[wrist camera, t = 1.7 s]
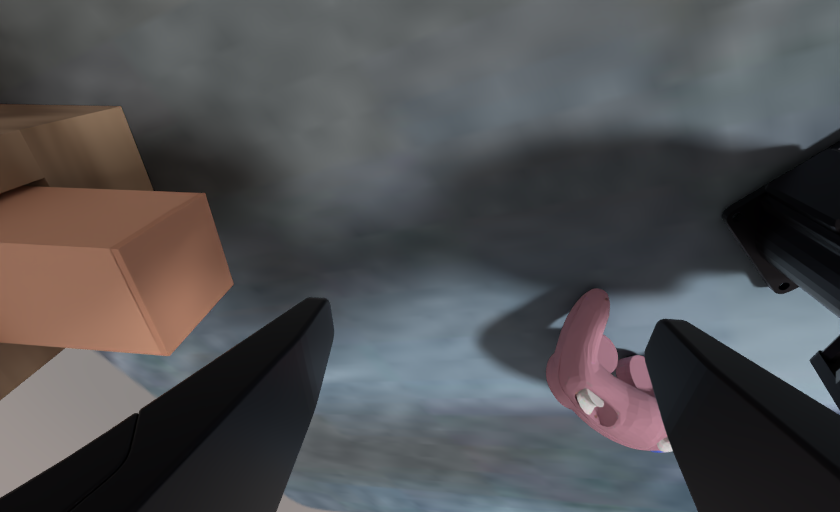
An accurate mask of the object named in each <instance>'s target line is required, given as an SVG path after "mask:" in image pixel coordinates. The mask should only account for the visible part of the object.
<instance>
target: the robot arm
mask: <svg viewBox="0 0 840 512" xmlns="http://www.w3.org/2000/svg"><path fill="white" fill-rule="evenodd" d="M736 213H739V214H738V216H737V217H735V218H733V216H734V215H735V214H736ZM722 219H723V221H724V222H725V224H726V225H727V227H728V228H729V230H730V231H731V232H732V234H733V235H734V237H735V238H736V240H737V241H738V243H739V244H740V246H741V247H742V249H743V250H744V252H745V253H746V254H747V256H748V257H749V259H750V260H751V262H752V263H753V265H754V266H755V268H756V269H757V271H758V272H759V273H760V275H761V276H762V278H763V279H764V281H765V282H766V284H767V285H768V287H769V288H771V289H772V290H773V291H774V292H775V293H778V294H784V293H787V292H789V291H791V290H794V289H796V288H798V287H800V288H802V289H803V290H804V291H805V292H807V293H808V294H809V295H811V296H812V297H813V298H814V299H816V300H817V301H818V302H820V303H821V304H822V305H823V306H825V307H826V308H827V309H829V310H830V311H831V312H832V313H834V314H835V315H836V316H838V317H839V318H840V141H839V142H838V143H836V144H834V145H833V146H831V147H829V148H828V149H826V150H824V151H822V152H821V153H819V154H817V155H816V156H814V157H812V158H811V159H809V160H807V161H806V162H804V163H802V164H801V165H799V166H797V167H795V168H794V169H792V170H790V171H789V172H787V173H785V174H784V175H782V176H780V177H779V178H777V179H775V180H773V181H772V182H770V183H768V184H767V185H765V186H763V187H762V188H760V189H758V190H757V191H755V192H753V193H752V194H750V195H748V196H746V197H745V198H743V199H741V200H740V201H738V202H736V203H735V204H733V205H731V206H730V207H728V208H727V209H726V210H725V211H724V212H723V214H722ZM782 283H783V284H782ZM781 284H782V285H781ZM333 338H334V326H333V319H332V313H331V306H330V303H329V300H327V299H326V298H316V297H309V298H306V299H305V300H303V301H302V302H300V303H299V304H297V305H296V306H294V307H293V308H291V309H290V310H288V311H287V312H285V313H284V314H282V315H281V316H279V317H278V318H276V319H275V320H273V321H272V322H270V323H269V324H267V325H266V326H264V327H263V328H261V329H260V330H258V331H257V332H255V333H254V334H252V335H251V336H249V337H248V338H246V339H245V340H243V341H242V342H240V343H239V344H237V345H236V346H234V347H233V348H231V349H230V350H228V351H227V352H225V353H224V354H222V355H221V356H219V357H218V358H216V359H215V360H213V361H212V362H211V363H209V364H208V365H206V366H205V367H203V368H202V369H200V370H199V371H197V372H196V373H194V374H193V375H191V376H190V377H188V378H187V379H185V380H184V381H182V382H181V383H179V384H178V385H176V386H175V387H173V388H172V389H170V390H169V391H167V392H166V393H164V394H163V395H161V396H160V397H158V398H157V399H155V400H154V401H152V402H151V403H149V404H148V405H146V406H145V407H143V408H142V409H141V410H140V411H139V414H138V413H134V414H133V415H131V416H130V417H128V418H127V419H125V420H124V421H122V422H121V423H119V424H118V425H116V426H115V427H113V428H112V429H110V430H109V431H107V432H106V433H104V434H102V435H101V436H99V437H98V438H96V439H95V440H93V441H92V442H90V443H89V444H87V445H85V446H84V447H82V448H81V449H79V450H78V451H76V452H75V453H73V454H72V455H70V456H68V457H67V458H65V459H64V460H62V461H60V462H59V463H57V464H56V465H54V466H52V467H51V468H49V469H47V470H46V471H44V472H42V473H41V474H39V475H37V476H36V477H34V478H32V479H31V480H29V481H28V482H26V483H25V484H23V485H21V486H19V487H18V488H16V489H14V490H13V491H11V492H9V493H8V494H6V495H4V496H3V497H1V498H0V512H276V511H277V508H278V506H279V503H280V501H281V498H282V495H283V493H284V490H285V488H286V485H287V482H288V480H289V477H290V474H291V472H292V469H293V467H294V464H295V461H296V459H297V456H298V453H299V451H300V448H301V446H302V443H303V440H304V438H305V435H306V432H307V430H308V427H309V425H310V422H311V419H312V416H313V414H314V411H315V408H316V404H317V401H318V397H319V393H320V390H321V386H322V382H323V378H324V374H325V370H326V366H327V362H328V358H329V354H330V351H331V347H332V343H333ZM810 362H811V364H812V365H813V367H814V369H815V370H816V372H817V374H818V375H819V377H820V379H821V380H822V382H823V384H824V385H825V387H826V388H827V390H828V392H829V393H830V395H831V397H832V398H833V400H834V402H835V403H836V405H837V407H838V408H839V410H840V335H839V336H838V337H837V338H836V339H835V340H834V341H833V342H832V343H831V344H830V345H829V346H828V347H826V348H825V349H824V350H823V351H818V352H817V353H816V354H815V355H814V356H813V357H812V358H811V359H810ZM645 363H646V367H647V370H648V374H649V377H650V380H651V384H652V387H653V391H654V394H655V397H656V401H657V404H658V408H659V411H660V415H661V418H662V421H663V425H664V428H665V431H666V434H667V437H668V440H669V442H670V445H671V447H672V450H673V452H674V455H675V457H676V460H677V462H678V465H679V467H680V469H681V472H682V474H683V477H684V479H685V481H686V484H687V486H688V489H689V491H690V494H691V496H692V498H693V501H694V503H695V506H696V508H697V510H698V512H840V415H839V414H837V413H835V412H834V411H832V410H830V409H829V408H827V407H825V406H824V405H822V404H821V403H819V402H817V401H816V400H814V399H812V398H811V397H809V396H808V395H806V394H804V393H803V392H801V391H799V390H798V389H796V388H795V387H793V386H791V385H790V384H788V383H786V382H785V381H783V380H781V379H780V378H778V377H777V376H775V375H773V374H772V373H770V372H768V371H767V370H765V369H764V368H762V367H760V366H759V365H757V364H755V363H754V362H752V361H750V360H749V359H747V358H746V357H744V356H742V355H741V354H739V353H737V352H736V351H734V350H733V349H731V348H729V347H728V346H726V345H724V344H723V343H721V342H720V341H718V340H716V339H715V338H713V337H711V336H710V335H708V334H706V333H705V332H703V331H702V330H700V329H698V328H697V327H695V326H693V325H692V324H690V323H689V322H687V321H684V320H675V319H662V320H660V321H658V322H657V324H656V326H655V328H654V330H653V333H652V335H651V337H650V340H649V342H648V344H647V347H646V349H645Z"/></svg>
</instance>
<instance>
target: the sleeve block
mask: <svg viewBox="0 0 840 512" xmlns="http://www.w3.org/2000/svg"><path fill="white" fill-rule="evenodd" d="M19 186H37V187H62V188H87V189H112V190H137V191H154V190H153V188H152V185H151V182H150V180H149V177H148V175H147V172H146V170H145V167H144V164H143V162H142V159H141V157H140V154H139V151H138V149H137V146H136V144H135V141H134V139H133V136H132V133H131V131H130V128H129V126H128V123H127V120H126V118H125V115H124V113H123V110H122V108H121V106H79V105H27V104H0V193H3V192H6V191H8V190H11V189H14V188H17V187H19ZM63 349H65V348H62V347H50V346H37V345H25V344H12V343H0V400H1V399H2V398H4V397H5V396H6V395H8V394H9V393H10V392H11V391H12V390H14V389H15V388H16V387H17V386H19V385H20V384H21V383H22V382H24V381H25V380H26V379H27V378H28V377H30V376H31V375H32V374H34V373H35V372H36V371H37V370H39V369H40V368H41V367H42V366H44V365H45V364H46V363H47V362H48V361H50V360H51V359H52V358H53V357H55V356H56V355H57V354H58V353H60V352H61V351H62V350H63Z"/></svg>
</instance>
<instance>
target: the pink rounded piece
mask: <svg viewBox="0 0 840 512" xmlns="http://www.w3.org/2000/svg"><path fill="white" fill-rule="evenodd" d="M609 310H610V302H609V297H608V294H607V293H606V292H605V291H604V290H602V289H598V288H595V289H591V290H590V291H588V292H587V293H585V294H584V295H583V296H582V297H581V298H580V299H579V300H578V301H577V302H576V304H575V305H574V306H573V307H572V309H571V311H570V313H569V314H568V316H567V318H566V320H565V322H564V325H563V327H562V330H561V332H560V336H559V339H558V343H557V346H556V349H555V353H554V354H552V356H551V357H550V358H549V360H548V363H547V368H546V378H547V382H548V385H549V388H550V390H551V392H552V393H553V395H554V396H555V398H556V399H557V400H558V401H559V402H560V403H561V404H562V405H563V406H565V407H567V408H569V409H572V410H573V411H574V412H575V413H576V414H577V415H578V416H579V417H580V418H581V419H582V420H583V421H584V422H585V423H587V424H588V425H589V426H590V427H591V428H593V429H594V430H596V431H597V432H599V433H600V434H602V435H603V436H605V437H607V438H609V439H611V440H613V441H614V442H617V443H619V444H622V445H624V446H627V447H630V448H634V449H639V450H650V451H651V452H655V453H664V452H671V451H673V450H672V447H671V445H670V442H669V440H668V437H667V434H666V431H665V428H664V425H663V421H662V418H661V415H660V411H659V408H658V404H657V401H656V397H655V394H654V391H653V387H652V384H651V380H650V377H649V374H648V370H647V367H646V363H645V357H643V356H640V355H635V356H630V357H626V358H622V359H619V360H618V353H617V350H616V348H615V346H614V344H613V343H612V342H611V340H610V339H608V338H607V337H606V336H605V335H603V332H604V329H605V326H606V323H607V320H608V317H609ZM615 368H616V376H617V378H616V377H614V376H613V375H612V374H610V373H612V372H613V371H614V370H615Z"/></svg>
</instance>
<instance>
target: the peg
mask: <svg viewBox="0 0 840 512" xmlns="http://www.w3.org/2000/svg"><path fill="white" fill-rule="evenodd" d="M233 285H234V284H233V280H232V277H231V274H230V271H229V268H228V264H227V261H226V258H225V255H224V252H223V249H222V245H221V242H220V239H219V236H218V233H217V229H216V226H215V223H214V220H213V217H212V213H211V210H210V207H209V204H208V201H207V198H206V194H205V193H188V192H163V191H137V190H112V189H87V188H62V187H37V186H19V187H17V188H14V189H11V190H8V191H6V192H3V193H0V343H12V344H25V345H37V346H50V347H62V348H75V349H87V350H88V349H89V350H100V351H113V352H125V353H138V354H150V355H163V356H170V355H171V354H172V353H173V351H174V350H175V349H176V348H177V347H178V346H179V345H180V344H181V343H182V341H183V340H184V339H185V338H186V337H187V336H188V335H189V334H190V333H191V331H192V330H193V329H194V328H195V327H196V326H197V325H198V324H199V322H200V321H201V320H202V319H203V318H204V317H205V316H206V315H207V314H208V312H209V311H210V310H211V309H212V308H213V307H214V306H215V305H216V303H217V302H218V301H219V300H220V299H221V298H222V297H223V296H224V295H225V293H226V292H227V291H228V290H229V289H230V288H231V287H232V286H233Z"/></svg>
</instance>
